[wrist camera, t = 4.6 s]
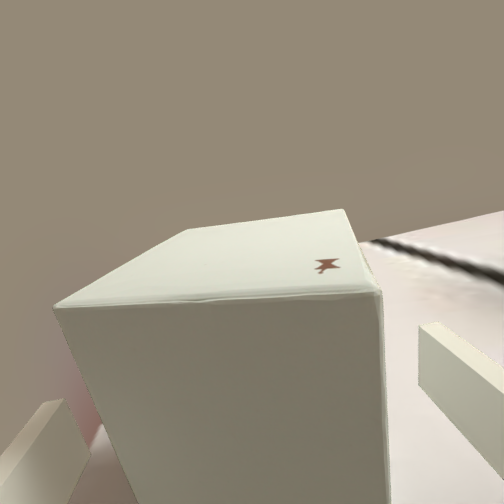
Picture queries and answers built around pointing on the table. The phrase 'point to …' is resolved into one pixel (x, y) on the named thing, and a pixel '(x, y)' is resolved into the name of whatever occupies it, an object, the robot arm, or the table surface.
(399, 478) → the table surface
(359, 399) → the supplement box
